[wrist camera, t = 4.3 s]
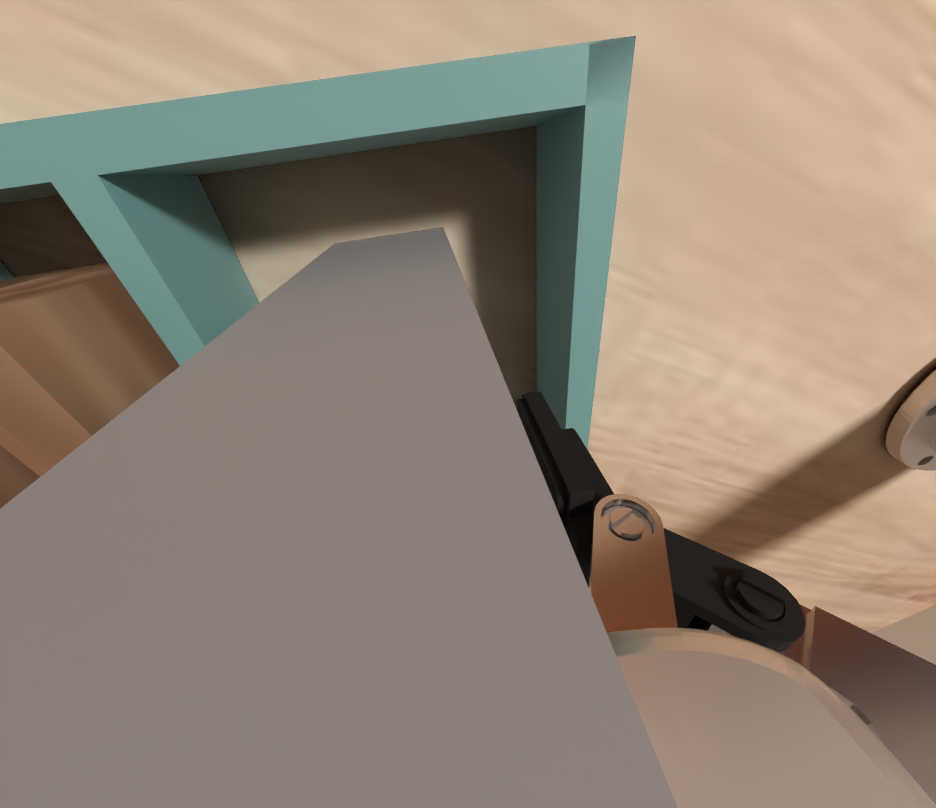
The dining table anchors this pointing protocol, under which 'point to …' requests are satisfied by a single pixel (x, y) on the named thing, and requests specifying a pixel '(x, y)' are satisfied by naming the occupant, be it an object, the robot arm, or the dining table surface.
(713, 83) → the dining table surface
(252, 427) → the grey block
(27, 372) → the offcut slab
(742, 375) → the dining table surface
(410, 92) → the rack
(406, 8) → the dining table surface
